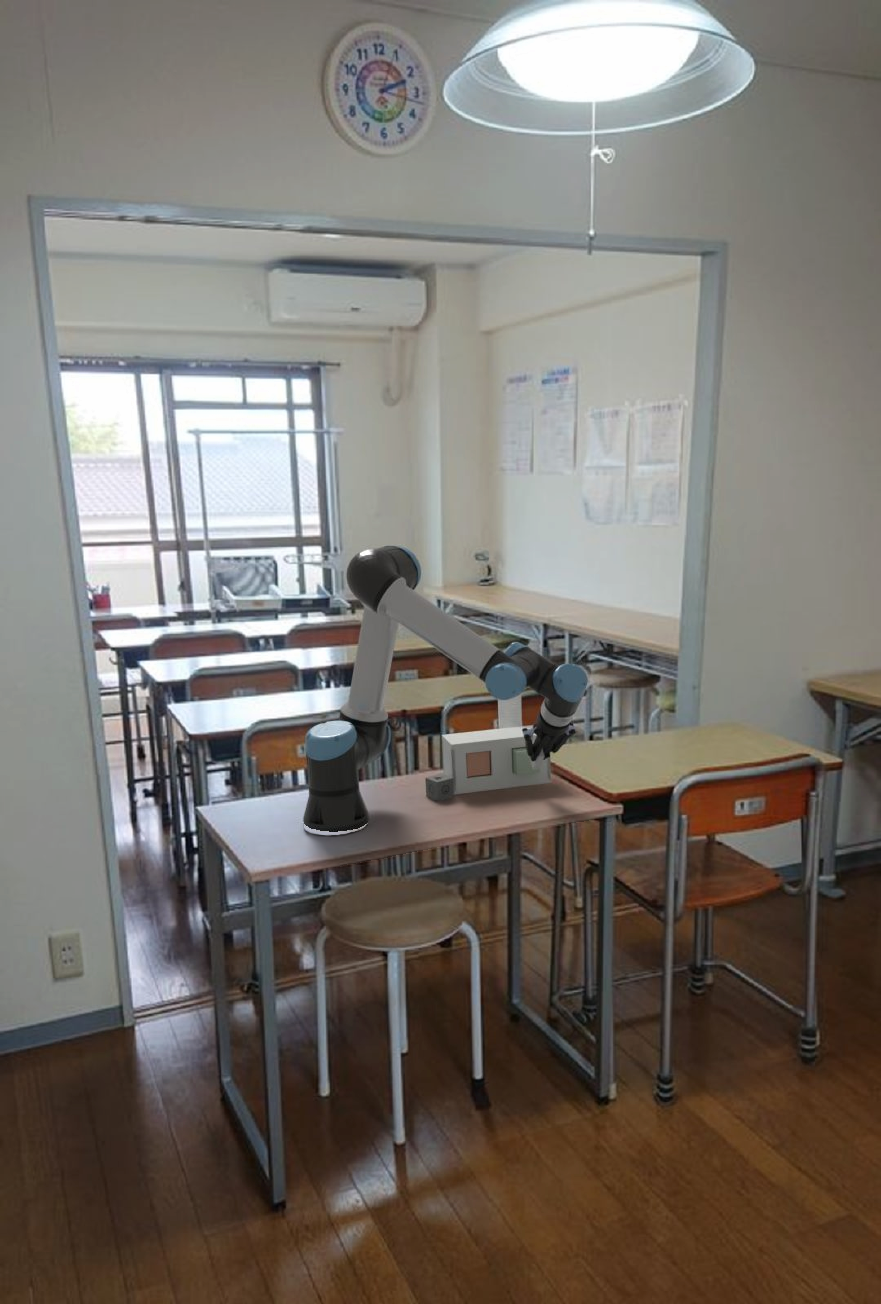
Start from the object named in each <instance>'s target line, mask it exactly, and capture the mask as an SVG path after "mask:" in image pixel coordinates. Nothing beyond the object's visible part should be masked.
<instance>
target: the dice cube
mask: <svg viewBox="0 0 881 1304" xmlns="http://www.w3.org/2000/svg"><path fill="white" fill-rule="evenodd" d="M424 778H425V795H426V796H427V798H429V799H431V798H432V800H433V799H434V801H436V802H441V801H445V800H447V799H451V798H454V797H455V794H454V784H453V778H452V777H450V776H447V775H444V773H438V774H435V775H434V774H433V775H431V776H427V777H424ZM426 796H425V797H426Z"/></svg>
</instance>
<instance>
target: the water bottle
mask: <svg viewBox="0 0 881 1304" xmlns="http://www.w3.org/2000/svg"><path fill="white" fill-rule="evenodd" d="M497 704H498V705H497V710H498V713H497V714H498V729H502V728H511V727H520V726H523V720H522V719H523V717H522V716H523V714H522V712H523V711H522V693H521V694H520V695H518V696H516V697H514V698H511V699H509V700H499V699H497Z"/></svg>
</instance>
